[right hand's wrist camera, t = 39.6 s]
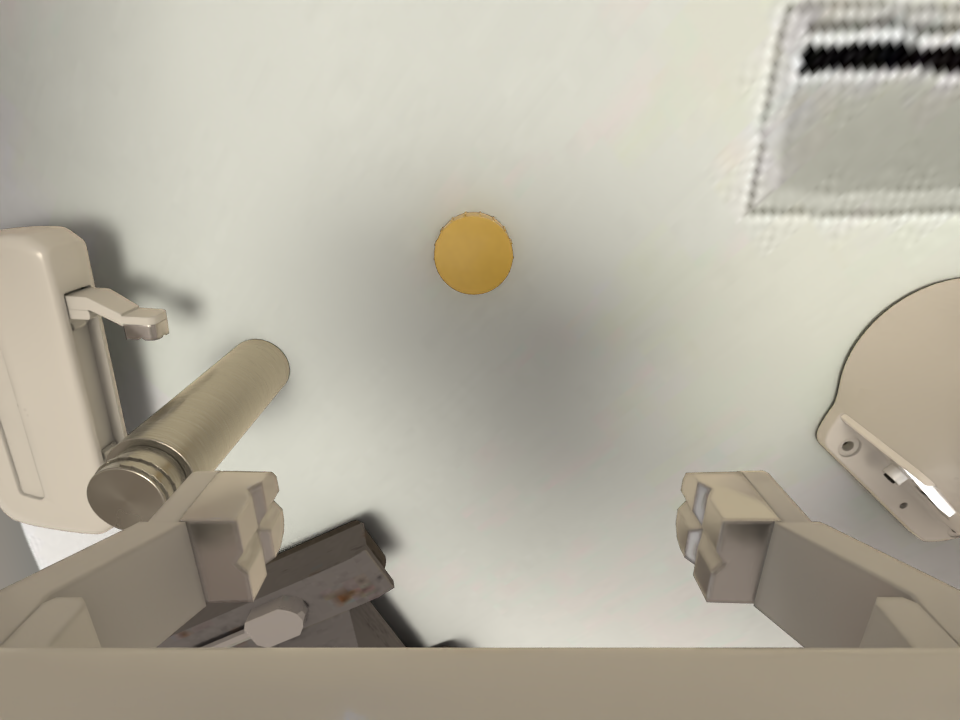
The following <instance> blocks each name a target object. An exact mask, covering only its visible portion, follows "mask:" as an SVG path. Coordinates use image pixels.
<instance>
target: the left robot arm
mask: <svg viewBox="0 0 960 720" xmlns="http://www.w3.org/2000/svg"><path fill="white" fill-rule="evenodd" d="M102 317H104V318H106V319H108V320H110V321H113V322H115V323H117V324H119V325H121V326H124V330H125V334H126V339H130V340H139V339H140V338H142V339H144V340H157V339H160V338H162V337H163V335H167V334H169V327H168V320H167V315H166V310H164V309H153V308H139V306H138V305H137V304H135V303H133V302H132V301H130V300H128V299H127V298H125V297H123V296H122V295H120V294H118V293H117V292H115V291H113V290H111V289H110V288H95V284H94V279H93V274H92V270H91V265H90V260H89V256H88V251H87V246H86V243H85V241H84V240H83V239H81V238H80V237H79V236H78V235H76V234H75V233H73V232H72V231H70V230H69V229H67V228H65V227H61V226H30V227H17V228H9V229H2V230H0V508H1V509H2V511H3V512H4V513H5V514H6V515H8V516H9V517H11V518H12V519H13V520H15V521H19V522H22V523H25V524H29V525H33V526H38V527H43V528H49V529H55V530H61V531H68V532H76V533H86V534H101V533H105V532H107V531H108V530H110V529H111V528H113V526H111V525H109V524H107V523H106V522H104V521H103V520H102V519H101V518H99V517H98V516H97V515H96V513H95V512H94V511H93V510H92V508H91V506H90V504H89V502H88V499H87V486H88V483H89V481H90V479H91V478H92V477H93V476H94V474H95V473H96V471H97V470H98V468H99V467H100V466H101V465H103V464H104V463H105V462H106V459H107V456H108V454H109V452H110V451H111V449H112V448H113V447H114V446H115V445H117V444H118V443H119V442H120V441H121V440H123V439H124V438H125V437H126V436H127V431H126V427H125V422H124V418H123V413H122V409H121V404H120V399H119V394H118V390H117V385H116V381H115V376H114V371H113V367H112V362H111V358H110V353H109V348H108V344H107V339H106V335H105V330H104V325H103V321H102Z"/></svg>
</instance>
